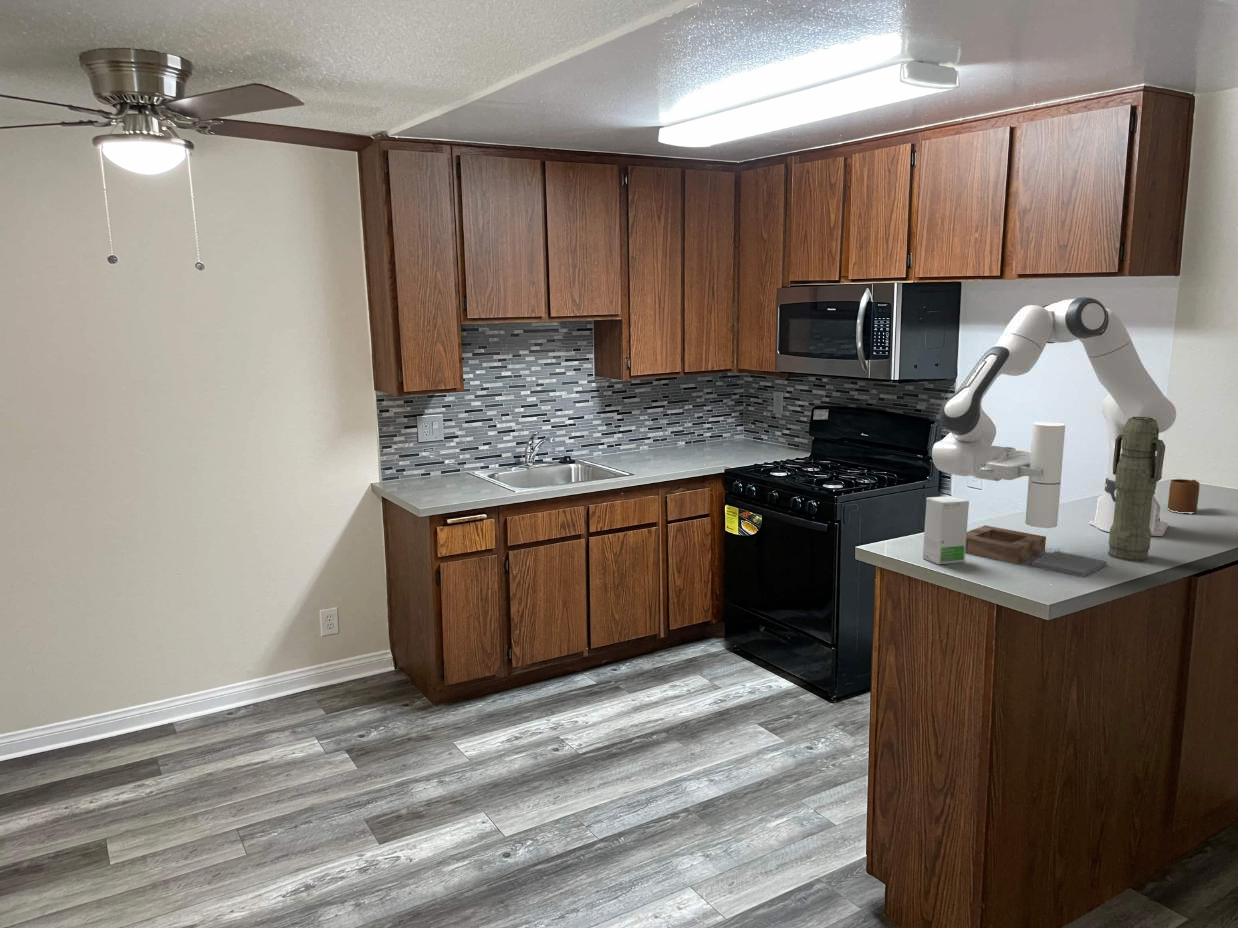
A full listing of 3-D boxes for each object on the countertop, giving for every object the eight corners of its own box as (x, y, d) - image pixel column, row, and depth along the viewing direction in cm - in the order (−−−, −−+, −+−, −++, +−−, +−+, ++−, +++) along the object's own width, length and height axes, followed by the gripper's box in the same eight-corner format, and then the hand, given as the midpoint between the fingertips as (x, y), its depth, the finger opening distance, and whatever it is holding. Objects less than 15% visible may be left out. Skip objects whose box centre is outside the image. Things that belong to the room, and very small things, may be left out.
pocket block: (984, 539, 242) (985, 525, 242) (1044, 551, 231) (1046, 536, 230) (955, 550, 232) (956, 535, 231) (1017, 564, 220) (1018, 548, 219)
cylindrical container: (1048, 520, 227) (1056, 421, 222) (1062, 527, 220) (1071, 425, 215) (1020, 520, 226) (1027, 422, 222) (1034, 528, 219) (1041, 426, 215)
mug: (1180, 505, 282) (1183, 476, 281) (1207, 510, 276) (1210, 480, 275) (1162, 511, 275) (1166, 480, 274) (1190, 515, 269) (1193, 484, 268)
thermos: (1143, 564, 219) (1158, 422, 213) (1095, 553, 229) (1108, 416, 223) (1161, 559, 224) (1177, 419, 218) (1113, 548, 234) (1127, 414, 228)
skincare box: (938, 565, 219) (942, 502, 216) (920, 558, 225) (924, 497, 222) (966, 562, 222) (970, 500, 219) (948, 555, 228) (952, 494, 225)
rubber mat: (1055, 554, 228) (1055, 551, 228) (1106, 564, 219) (1106, 560, 219) (1031, 565, 219) (1031, 561, 218) (1083, 576, 210) (1084, 572, 210)
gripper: (975, 456, 222) (1031, 463, 212) (1012, 446, 236) (1067, 452, 226) (973, 481, 224) (1029, 489, 214) (1010, 470, 237) (1065, 477, 227)
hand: (1049, 470), depth 220 cm, fingers closed on cylindrical container, 7 cm apart
